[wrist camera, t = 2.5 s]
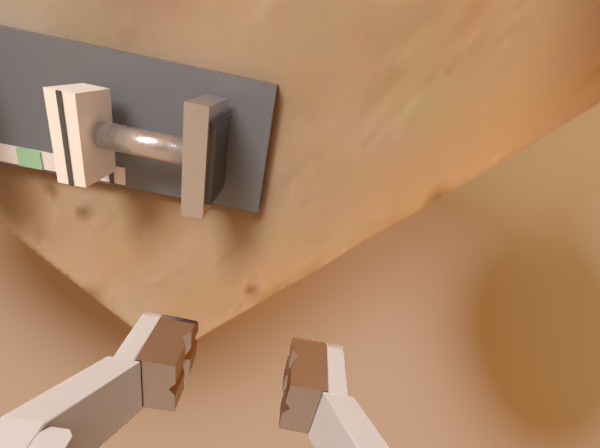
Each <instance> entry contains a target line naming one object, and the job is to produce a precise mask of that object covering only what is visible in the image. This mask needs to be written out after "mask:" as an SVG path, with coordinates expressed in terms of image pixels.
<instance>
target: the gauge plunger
mask: <svg viewBox="0 0 600 448" xmlns="http://www.w3.org/2000/svg"><path fill="white" fill-rule="evenodd" d="M227 110H228V98H226V97H221V96H216V95H211V94H205V95H202V96H199V97H196V98H193V99H190V100H187V101H184V111H183V137H180V136H175V135H170V134H165V133H160V132H155V131H150V130H145V129H140V128H135V127H130V126H125V125H120V124H115V123H110V122H105V121H100V122H98V123H97V125H96V127H95V129H94V142H95V144H96V146H97V147H98V148H100V149H105V150H110V151H115V152H120V153H125V154H130V155H135V156H140V157H145V158H151V159H156V160H161V161H166V162H171V163H176V164H181V165H182V186H181V215H182V216H187V217H193V218H198V219H203V218H204V216H205V215H206V214H207V212H208V211H209V209H210V208H211V206H212V205H213V204H214V202H215V201H216V199H217V198H218V196H219V195H220V192H221V190H222V189H223V187H224V184H225V173H226V162H227V151H228V140H229V130H230V119H231V114H230V113H227Z"/></svg>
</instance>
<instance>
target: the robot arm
mask: <svg viewBox="0 0 600 448" xmlns="http://www.w3.org/2000/svg"><path fill="white" fill-rule="evenodd" d="M197 332H198V322H197V321H193V320H188V319H183V318H178V317H173V316H168V315H162V314H157V313H152V312H147V311H146V312H145V313H144V314H143V315H141V317H140V318H139V320H138V321H137V323H136V324H135V326H134V327H133V329H132V330H131V332H130V333H129V335H128V336H127V337H126V339H125V341H124V342H123V343H122V345H121V346H120V348H119V349H118V351H117V352H116V354H115V355H114V357H109V356H107V357H105V358H104V359H102V360H100V361H98V362H97V363H95V364H93V365H91V366H90V367H88V368H86V369H84V370H83V371H81V372H79V373H77V374H76V375H74V376H72V377H70V378H69V379H67V380H65V381H63V382H62V383H60V384H58V385H56V386H54V387H53V388H51V389H49V390H47V391H46V392H44V393H42V394H41V395H39V396H37V397H35V398H33V399H32V400H30V401H28V402H26V403H25V404H23V405H21V406H19V407H18V408H16V409H14V410H12V411H11V412H9V413H7V414H5V415H4V416H2V417H1V418H0V448H99V447H100V446H101V445H102V444H103V443H104V442H106V441H107V440H108V439H109V438H110V437H111V436H112V435H114V434H115V433H116V432H117V431H118V430H119V429H121V428H122V427H123V426H124V425H125V424H126V423H127V422H129V421H130V420H131V419H132V418H133V417H134V416H135V415H136V414H138V413H139V412H140V411H141V410H142V407H145V408H153V409H160V410H168V411H175V409H176V406H177V404H178V401H179V399H180V396H181V394H182V391H183V389H184V378H185V377H187V376H188V375H189V374H190V371H191V369H192V366H193V362H194V359H195V356H196V350H197V340H196V339H195V337H196V335H197ZM282 391H283V392H284V394H283V398H282V402H281V407H280V418H279V428H281V429H287V430H292V431H297V432H303V433H308V436H309V438H310V441H311V443H312V445H313V447H314V448H390V447H389V446H388V445H387V443H386V442H385V440H384V439H383V437H382V436H381V435H380V433H379V432H378V430H377V429H376V428H375V426H374V425H373V423H372V422H371V421H370V419H369V418H368V416H367V415H366V414H365V412H364V411H363V409H362V408H361V406H360V405H359V404H358V402H357V401H356V399H355V398H354V397H351V396H349V394H348V385H347V374H346V366H345V355H344V348H343V346H341V345H335V344H329V343H323V342H317V341H311V340H305V339H298V338H293V339H292V342H291V346H290V355H289V356H288V358H287V362H286V367H285V372H284V378H283V387H282Z"/></svg>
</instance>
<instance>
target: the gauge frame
mask: <svg viewBox="0 0 600 448" xmlns="http://www.w3.org/2000/svg"><path fill="white" fill-rule="evenodd" d="M77 83H86V84H91V85H95V86H100V87H105V88H110V93H111V107H112V122H113V123H115V124H120V125H125V126H130V127H135V128H140V129H145V130H150V131H155V132H160V133H165V134H170V135H175V136H180V137H183V111H184V101H187V100H190V99H193V98H196V97H199V96H202V95H205V94H211V95H216V96H221V97H226V98H228V110H227V113H230V114H231V119H230V130H229V140H228V151H227V162H226V173H225V184H224V187H223V189H222V190H221V192H220V195H219V196H218V198H217V199H216V201H215V202H214V204H215V205H220V206H225V207H230V208H235V209H241V210H246V211H251V212H256V213H258V211H259V208H260V203H261V196H262V189H263V183H264V176H265V170H266V163H267V156H268V150H269V143H270V136H271V130H272V123H273V116H274V110H275V103H276V97H277V90H278V84H273V83H268V82H264V81H259V80H254V79H250V78H245V77H240V76H236V75H231V74H226V73H222V72H217V71H212V70H208V69H203V68H198V67H194V66H189V65H184V64H180V63H175V62H170V61H166V60H161V59H156V58H152V57H147V56H142V55H138V54H133V53H128V52H124V51H119V50H114V49H110V48H105V47H100V46H95V45H91V44H86V43H81V42H77V41H72V40H67V39H63V38H58V37H53V36H49V35H44V34H39V33H35V32H30V31H25V30H21V29H16V28H11V27H7V26H2V25H0V163H2V164H7V165H12V166H17V167H23V168H28V169H33V170H38V171H43V172H48V173H54V174H57V173H56V167H55V161H54V155H53V148H52V142H51V136H50V130H49V123H48V117H47V111H46V105H45V98H44V92H43V87H48V86H58V85H68V84H77ZM115 164H116V171H115V172H113V173H111V174H109V175H108V176H106V177H104V178H102V179H101V180H99V181H97V182H100V183H106V184H111V185H116V186H121V187H126V188H132V189H137V190H142V191H147V192H152V193H158V194H163V195H168V196H173V197H178V198H181V186H182V165H181V164H176V163H171V162H166V161H161V160H156V159H151V158H145V157H140V156H135V155H130V154H125V153H120V152H115Z"/></svg>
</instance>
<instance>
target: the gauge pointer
mask: <svg viewBox="0 0 600 448" xmlns="http://www.w3.org/2000/svg"><path fill="white" fill-rule="evenodd" d="M43 92H44V98H45V105H46V111H47V117H48V123H49V130H50V136H51V142H52V148H53V155H54V161H55V167H56V173H57V180H58V182H59V183H64V184H69V185H71V186H80V187H85V188H86V187H88V186H90V185H92V184H93V183H95V182H97V181H99V180H101V179H102V178H104V177H106V176H108V175H109V174H111V173H113V172H115V171H116V164H115V151H110V150H105V149H100V148H98V147H97V146H96V144H95V142H94V129H95V127H96V125H97V123H98V122H100V121H105V122H110V123H113V122H112V107H111V93H110V88H105V87H100V86H95V85H91V84H86V83H77V84H68V85H58V86H48V87H43Z"/></svg>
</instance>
